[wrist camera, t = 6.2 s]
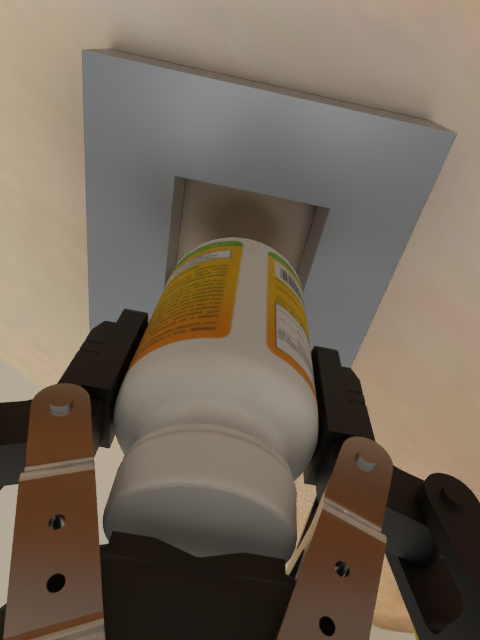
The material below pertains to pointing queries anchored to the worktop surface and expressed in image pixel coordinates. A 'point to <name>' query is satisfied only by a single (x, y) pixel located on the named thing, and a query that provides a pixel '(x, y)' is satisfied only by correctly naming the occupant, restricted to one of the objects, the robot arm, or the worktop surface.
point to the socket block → (248, 182)
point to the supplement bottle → (218, 407)
